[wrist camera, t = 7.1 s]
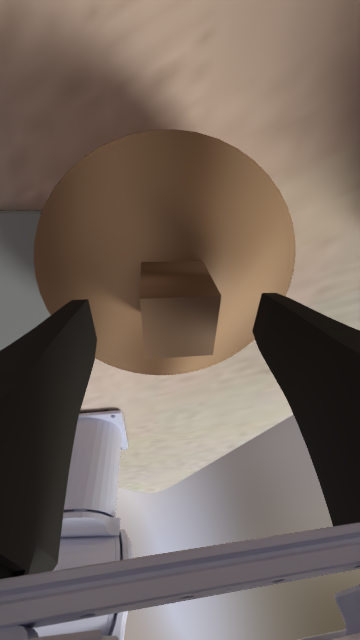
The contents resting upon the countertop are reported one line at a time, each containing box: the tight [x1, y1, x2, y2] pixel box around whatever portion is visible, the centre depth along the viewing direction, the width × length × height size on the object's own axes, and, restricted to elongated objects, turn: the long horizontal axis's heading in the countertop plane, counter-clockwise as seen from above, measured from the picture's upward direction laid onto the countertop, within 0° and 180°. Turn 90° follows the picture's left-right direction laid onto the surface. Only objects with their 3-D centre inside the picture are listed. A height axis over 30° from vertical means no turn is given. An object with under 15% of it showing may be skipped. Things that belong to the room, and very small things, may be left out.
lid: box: [34, 129, 295, 375], centre depth 11 cm, size 13×13×4 cm
